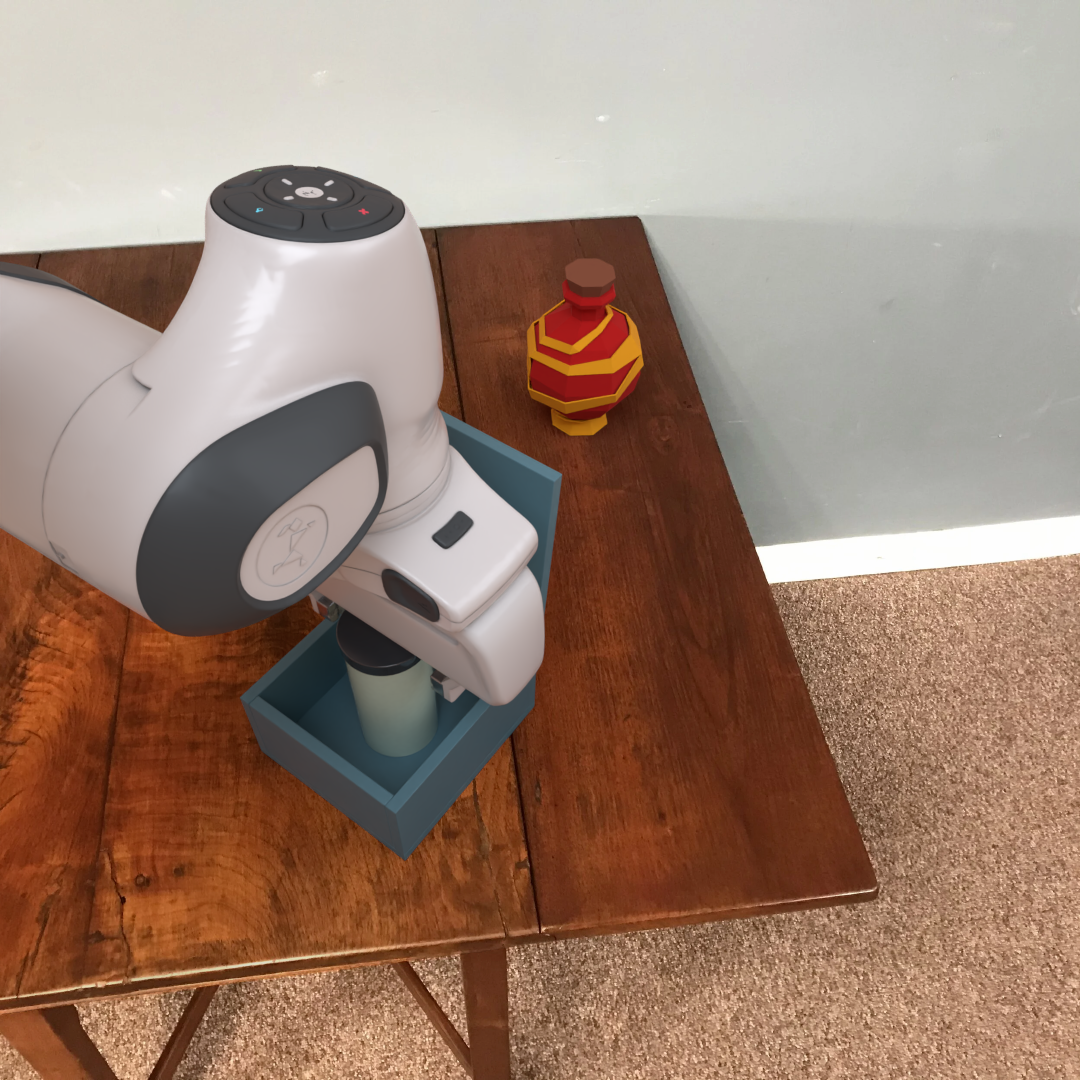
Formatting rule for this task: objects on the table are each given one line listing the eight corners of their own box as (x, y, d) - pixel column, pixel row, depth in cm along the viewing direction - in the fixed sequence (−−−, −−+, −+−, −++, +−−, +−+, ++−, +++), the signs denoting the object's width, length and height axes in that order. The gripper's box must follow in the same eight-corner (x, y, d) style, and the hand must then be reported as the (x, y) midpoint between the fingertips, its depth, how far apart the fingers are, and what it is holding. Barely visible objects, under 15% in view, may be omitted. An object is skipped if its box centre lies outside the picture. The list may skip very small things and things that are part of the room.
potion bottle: (619, 468, 80) (637, 324, 69) (505, 439, 82) (505, 294, 71) (649, 393, 87) (671, 250, 76) (544, 367, 89) (549, 224, 78)
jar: (358, 763, 61) (335, 671, 53) (358, 690, 65) (336, 593, 56) (443, 754, 62) (433, 662, 53) (438, 683, 65) (428, 586, 57)
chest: (405, 861, 58) (395, 813, 53) (261, 750, 62) (239, 697, 57) (534, 706, 65) (537, 651, 60) (397, 617, 70) (388, 559, 64)
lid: (554, 481, 49) (562, 473, 50) (374, 385, 54) (383, 379, 54) (533, 651, 59) (541, 643, 60) (384, 558, 64) (392, 552, 64)
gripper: (169, 438, 48) (231, 599, 59) (484, 635, 41) (490, 778, 51) (260, 374, 51) (303, 537, 62) (567, 545, 44) (556, 697, 55)
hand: (390, 648), depth 57 cm, fingers open, 8 cm apart
